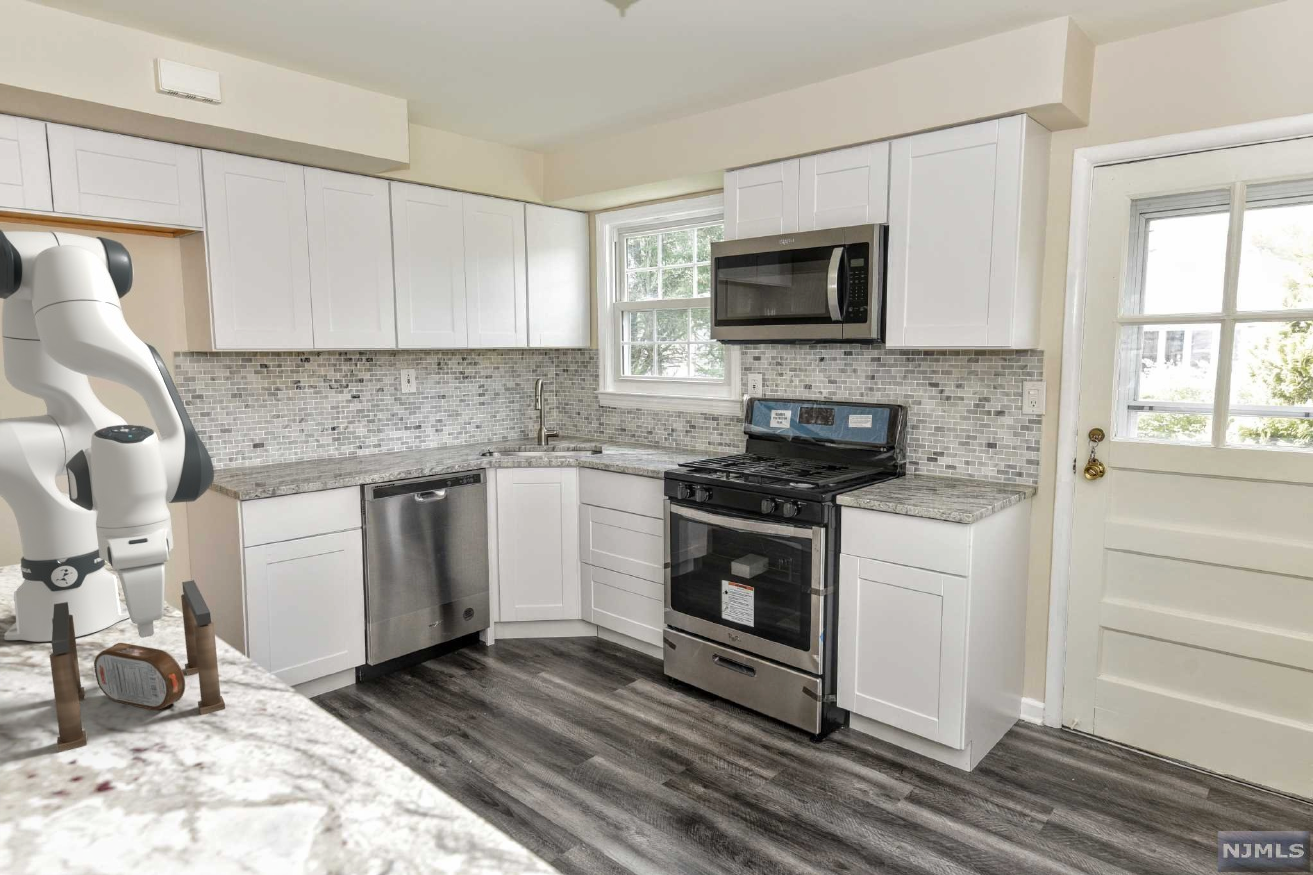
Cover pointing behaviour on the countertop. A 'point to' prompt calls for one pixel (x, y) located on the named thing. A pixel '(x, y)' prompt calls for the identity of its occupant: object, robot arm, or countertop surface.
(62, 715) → the wooden stanchion pair
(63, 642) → the grey bar
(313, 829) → the countertop surface
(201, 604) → the dark grey beam
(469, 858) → the countertop surface
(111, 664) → the tin
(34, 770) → the countertop surface
